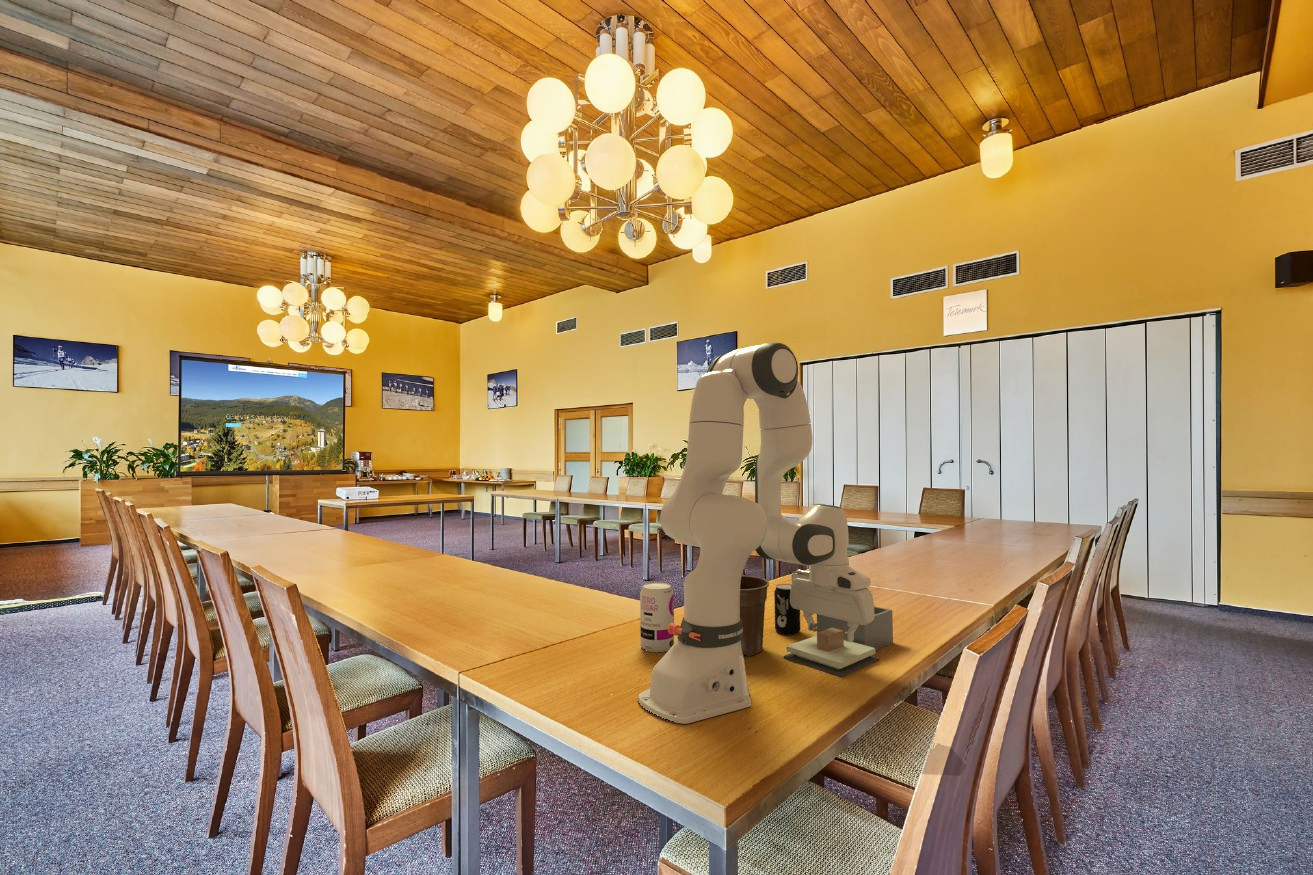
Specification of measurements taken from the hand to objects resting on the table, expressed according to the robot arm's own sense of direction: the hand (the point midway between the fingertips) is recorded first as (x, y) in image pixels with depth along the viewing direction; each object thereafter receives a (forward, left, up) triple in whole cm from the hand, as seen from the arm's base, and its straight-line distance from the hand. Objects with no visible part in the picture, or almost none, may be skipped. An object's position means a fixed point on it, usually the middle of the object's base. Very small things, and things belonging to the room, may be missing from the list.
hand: (830, 635), depth 128 cm
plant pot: (-11, +19, -6) cm, 23 cm away
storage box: (+15, +3, -5) cm, 16 cm away
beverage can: (+9, +19, -6) cm, 22 cm away
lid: (0, 0, -5) cm, 5 cm away
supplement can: (-25, +32, -6) cm, 41 cm away
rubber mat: (0, 0, -5) cm, 5 cm away
